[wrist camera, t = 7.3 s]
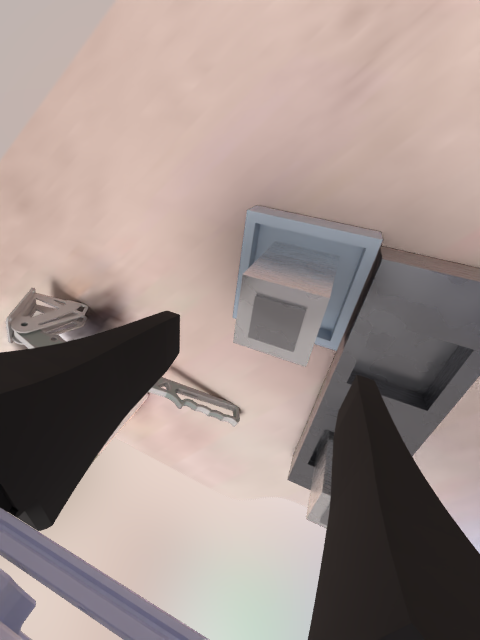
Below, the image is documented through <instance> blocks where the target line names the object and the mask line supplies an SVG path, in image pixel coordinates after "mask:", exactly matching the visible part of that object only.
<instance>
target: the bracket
mask: <svg viewBox="0 0 480 640" xmlns="http://www.w3.org/2000/svg"><path fill="white" fill-rule="evenodd" d="M36 299H38V300H40V301H42V302H45V303H47V304H49V305H51V306H54V307H56V308H58V309H53V308H49V307H45V306H41V305H37V304H36ZM55 301H57V302H61V303H65V305H61V304H59V303H57V302H55ZM81 306H82V307H85V308H84V310H83V312H80V311H78V310H77V309H78V308H79V307H81ZM87 309H88V306H87V305H85V304H82V303H78V302H74V301H70V300H62V299H58V298H54V297H50V296H46V295H42V294H38V293H35V288H31V289H30V291H29V292H28V293H27V294H26V295H25V297H24V298H23V299H22V300H21V301H20V303H19V304H18V305H17V306H16V307H15V309H14V310H13V311H12V312H11V313H10V315H9V316H8V317H7V319H6V328H7V335H8V342H9V343H13V341H14V342H16V343H18V344H21V345H25V346H26V347H28V348H29V349H31V348H37V347H43V346H48V345H54V344H59V343H64V342H66V341H65V340H63V339H62V338H61V337H60V336H59V334H62V333H65V332H68V331H71V330H74V329H77V328H80V327H83V326H84V324H85V322H86V320H87V317H86V316H85V313H86V311H87ZM35 311H40V312H42V313H44V314H41V315H38V316H35V317H32V316H33V315H34V313H35ZM79 317H83V318H84V319H83V321H82V322H81V323H80V322H78V321H76V320H77V319H78V318H79ZM55 318H56V319H58V320H56V321H53V322H50V323H46V324H43V325H39V324H42V323H45V322H47V321H50V320H53V319H55ZM71 323H73V324H76V326H73V327H70V328H67V329H63V330H60V331H57V332H54V333H51V334H47V333H48V332H50V331H53V330H56V329H58V328H61V327H63V326H66V325H68V324H71ZM163 386H165V387H166V389H167V390H166V389H163V388H161V387H163ZM148 392H150V393H153V394H156V395H159V396H162V397H165V398H168V399H169V400H171V401H172V402H173V403H175V405H176V406H177V407H178V408H179V409H181V408H182V406H188V407H190V408H191V409H193V410H194V411H199V412H202V413H204V414H206V415H207V416H211V417H215V418H217V419H219V420H220V421H226V422H228V423H230V424H231V425H232V426H236V425H237V423H238V422H239V421H240V416H239V407H237V406H236V405H234V404H233V403H231V402H228V401H226V400H223V399H220V398H218V397H215V396H212V395H209V394H207V393H204V392H201V391H198V390H196V389H193V388H190V387H187V386H185V385H182V384H179V383H177V382H174V381H171V380H168V379H166V378H163V377H161V378H160V379H159V380H158V381H157V382H156V384H155V385H154V386H153V387H152V388H151V389H150V390H149V391H148ZM176 393H179V394H182V395H185V396H188V397H191V398H194V399H197V400H201V401H204V402H207V403H210V404H213V405H216V406H219V407H223V408H226V409H229V410H232V411H233V416H230V415H225V414H223V413H221V412H219V411H217V410H211V409H210V408H208V407H207V406H204V405H200V404H197V403H196V402H194V401H193V400H190V399H184V400H181V399H180V398H179V397H178V395H177V394H176Z"/></svg>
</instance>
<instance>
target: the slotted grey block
mask: <svg viewBox="0 0 480 640" xmlns="http://www.w3.org/2000/svg"><path fill="white" fill-rule="evenodd" d="M333 439H334V432H331V431H329V430H326V431H325V433H324V435H323V438H322V440H321V442H320V444H319V446H318V448H317V453H316V459H315V466H314V472H313V478H312V485H311V491H310V497H309V504H308V511H307V516H306V519H307V520H309V521H311V522H313V523H316V524H318V525H320V526H322V527H324V528H326V529H327V524H328V517H329V509H330V497H331V477H332V456H333Z"/></svg>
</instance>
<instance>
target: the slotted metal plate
mask: <svg viewBox="0 0 480 640" xmlns="http://www.w3.org/2000/svg"><path fill="white" fill-rule="evenodd" d="M356 375H360V376H363V377H366V378H369V379H372V380H374V381H375V382H376V384H377V387H378V389H379V391H380V393H381V396H382V398H383V400H384V402H385V405H386V407H387V409H388V411H389V413H390V415H391V417H392V420H393V422H394V424H395V426H396V428H397V430H398V431H399V433H400V435H401V437H402V439H403V441H404V443H405V445H406V447H407V449H408V450H409V452H410V454H411V456H413V455H414V453H415V452H416V451H417V450H418V449H419V447H420V446H421V445H422V444H423V443H424V442H425V440H426V439H427V438H428V437H429V436H430V434H431V433H432V432H433V431H434V430H435V428H436V427H437V426H438V425H439V424H440V422H441V421H442V420H443V419H444V418H445V416H446V415H447V414H448V413H449V412H450V410H451V409H452V408H453V407H454V406H455V404H456V403H457V402H458V401H459V400H460V399H461V397H462V396H463V395H464V394H465V393H466V391H467V390H468V389H469V388H470V387H471V385H472V384H473V383H474V382H475V381H476V379H477V378H478V377H479V376H480V268H477V267H472V266H468V265H463V264H459V263H454V262H450V261H445V260H441V259H437V258H432V257H428V256H423V255H419V254H414V253H410V252H406V251H401V250H397V249H392V248H388V247H383V246H380V248H379V250H378V253H377V255H376V258H375V260H374V262H373V265H372V267H371V270H370V272H369V274H368V277H367V279H366V282H365V284H364V286H363V289H362V291H361V294H360V296H359V298H358V301H357V303H356V306H355V308H354V311H353V313H352V315H351V318H350V320H349V323H348V325H347V327H346V330H345V332H344V335H343V337H342V339H341V342H340V344H339V347H338V349H337V351H336V354H335V356H334V359H333V361H332V364H331V366H330V368H329V371H328V373H327V376H326V378H325V380H324V383H323V385H322V388H321V390H320V392H319V395H318V397H317V400H316V402H315V404H314V407H313V409H312V412H311V414H310V417H309V419H308V421H307V424H306V426H305V429H304V431H303V433H302V436H301V438H300V441H299V443H298V445H297V448H296V450H295V453H294V455H293V458H292V462H291V467H290V471H289V475H288V480H289V481H291V482H294V483H296V484H298V485H300V486H303V487H305V488H307V489H309V490H311V485H312V478H313V472H314V466H315V459H316V453H317V448H318V446H319V444H320V442H321V440H322V438H323V435H324V433H325V431H326V430H329V431H331V432H335V426H336V421H337V415H338V411H339V409H340V407H341V405H342V403H343V401H344V399H345V397H346V395H347V393H348V391H349V389H350V387H351V385H352V383H353V381H354V379H355V377H356Z"/></svg>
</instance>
